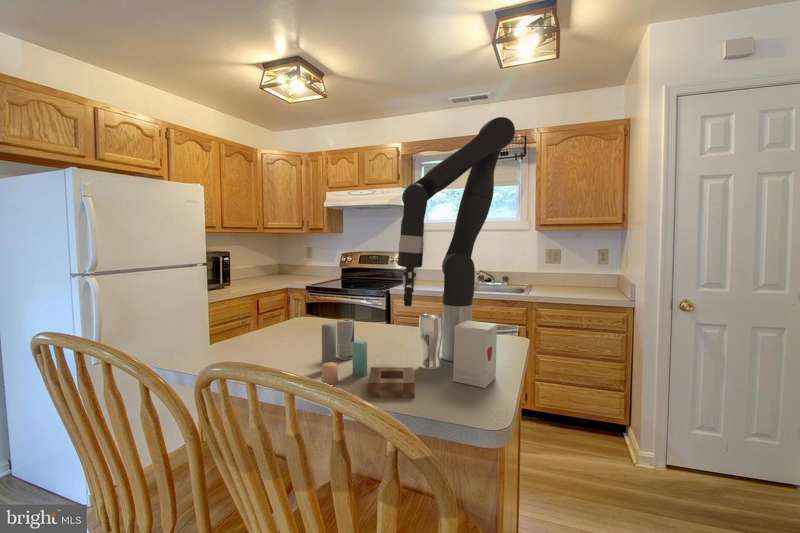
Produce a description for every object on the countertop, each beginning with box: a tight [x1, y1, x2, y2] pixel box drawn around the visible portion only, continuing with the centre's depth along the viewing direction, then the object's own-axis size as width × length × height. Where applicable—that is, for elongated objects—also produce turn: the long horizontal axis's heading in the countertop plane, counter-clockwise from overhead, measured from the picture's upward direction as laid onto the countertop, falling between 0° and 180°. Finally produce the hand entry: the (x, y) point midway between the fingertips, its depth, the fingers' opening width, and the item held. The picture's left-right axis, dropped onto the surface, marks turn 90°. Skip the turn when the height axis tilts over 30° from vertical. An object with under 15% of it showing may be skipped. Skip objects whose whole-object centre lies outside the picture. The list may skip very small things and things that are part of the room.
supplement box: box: [452, 320, 498, 389], centre depth 100 cm, size 9×9×15 cm
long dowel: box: [321, 323, 337, 365], centre depth 107 cm, size 4×4×13 cm
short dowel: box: [321, 362, 339, 387], centre depth 97 cm, size 4×4×5 cm
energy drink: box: [336, 318, 355, 361], centre depth 119 cm, size 5×5×12 cm
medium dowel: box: [352, 340, 368, 378], centre depth 104 cm, size 4×4×9 cm
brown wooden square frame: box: [367, 366, 416, 398], centre depth 95 cm, size 11×11×4 cm
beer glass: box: [418, 313, 443, 371], centre depth 111 cm, size 7×7×15 cm
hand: (407, 303), depth 116 cm, fingers open, 8 cm apart
